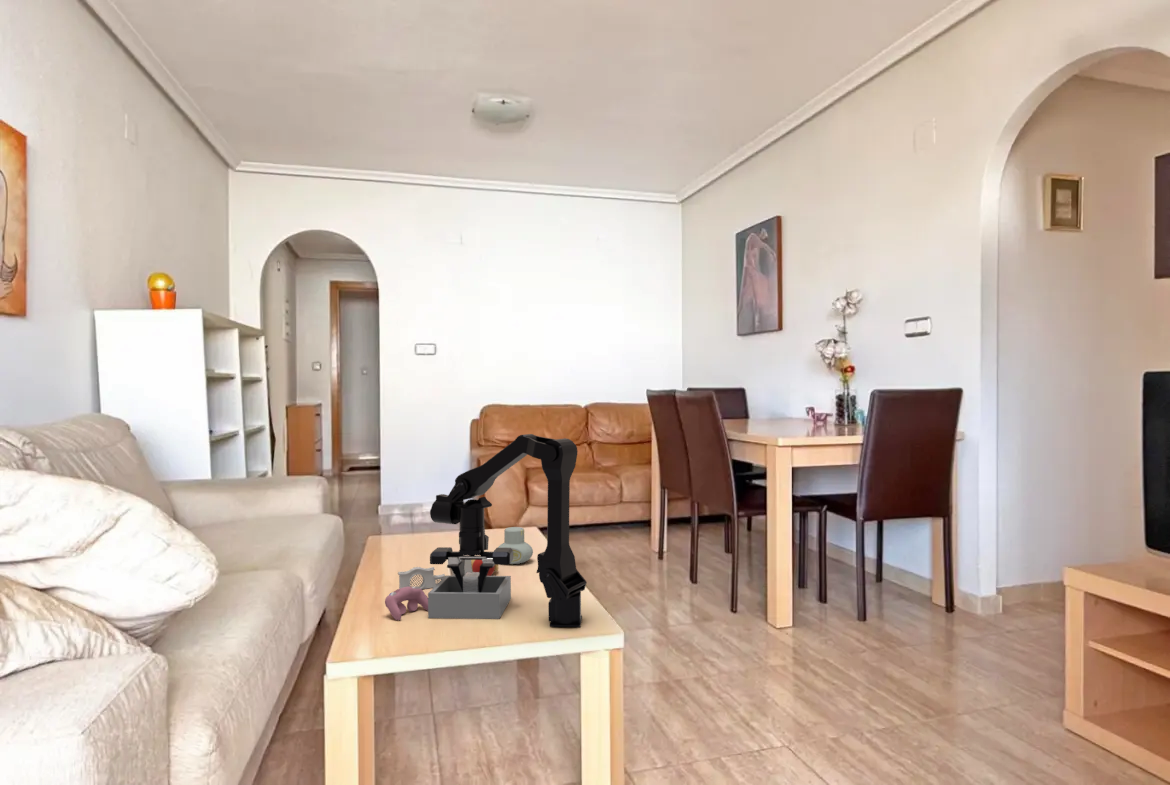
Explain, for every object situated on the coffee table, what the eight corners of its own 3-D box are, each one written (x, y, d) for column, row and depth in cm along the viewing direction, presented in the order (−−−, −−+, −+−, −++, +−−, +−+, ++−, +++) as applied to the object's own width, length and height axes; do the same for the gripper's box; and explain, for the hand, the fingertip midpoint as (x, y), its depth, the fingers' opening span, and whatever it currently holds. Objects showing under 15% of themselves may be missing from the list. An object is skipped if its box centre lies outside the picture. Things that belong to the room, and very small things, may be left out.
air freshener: (535, 559, 203) (535, 526, 203) (529, 566, 195) (529, 531, 195) (500, 558, 205) (500, 525, 205) (492, 565, 197) (492, 531, 197)
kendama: (473, 569, 197) (465, 577, 180) (477, 548, 198) (469, 553, 180) (499, 574, 197) (493, 582, 180) (503, 552, 198) (498, 558, 181)
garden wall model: (443, 584, 177) (443, 562, 177) (445, 586, 175) (445, 563, 175) (397, 592, 171) (397, 568, 171) (399, 593, 169) (399, 570, 169)
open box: (510, 598, 164) (510, 575, 164) (499, 618, 149) (499, 594, 149) (446, 597, 165) (445, 575, 165) (428, 618, 150) (428, 593, 150)
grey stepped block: (481, 595, 160) (481, 572, 160) (474, 605, 152) (473, 581, 152) (467, 595, 160) (466, 572, 160) (458, 605, 152) (458, 581, 152)
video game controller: (423, 614, 157) (415, 585, 160) (434, 608, 155) (426, 579, 157) (387, 625, 150) (379, 595, 152) (398, 620, 147) (389, 589, 149)
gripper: (516, 519, 165) (517, 583, 165) (441, 519, 167) (442, 582, 166) (509, 528, 154) (509, 596, 154) (428, 528, 155) (429, 596, 155)
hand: (472, 592), depth 158 cm, fingers closed on grey stepped block, 3 cm apart
